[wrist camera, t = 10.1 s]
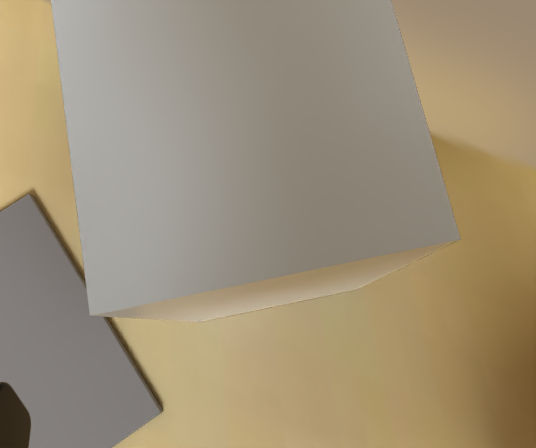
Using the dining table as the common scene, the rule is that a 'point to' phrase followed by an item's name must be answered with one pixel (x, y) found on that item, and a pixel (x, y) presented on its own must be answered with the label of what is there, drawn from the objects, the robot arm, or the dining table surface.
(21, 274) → the mat
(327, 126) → the cover
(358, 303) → the dining table surface
